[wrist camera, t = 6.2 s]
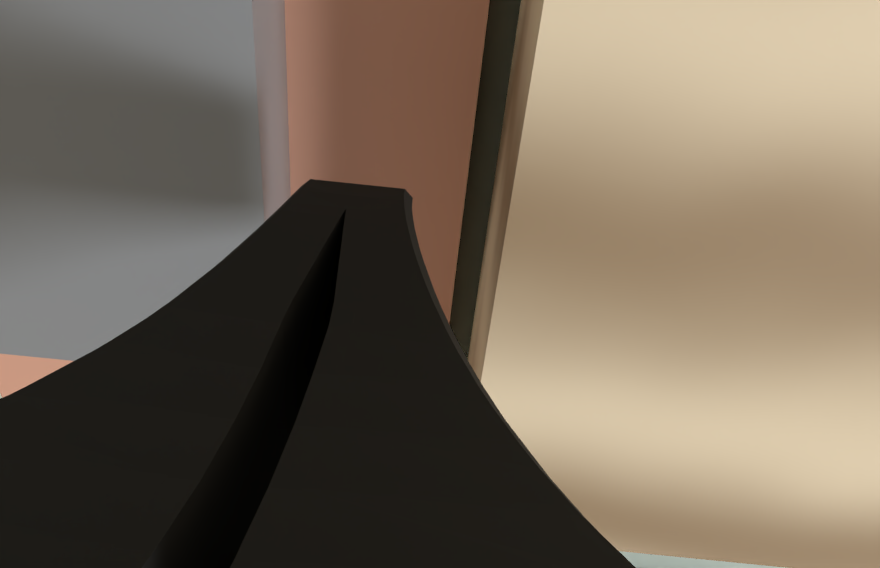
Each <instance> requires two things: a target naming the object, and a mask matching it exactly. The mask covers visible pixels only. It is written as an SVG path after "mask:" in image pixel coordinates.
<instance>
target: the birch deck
mask: <svg viewBox="0 0 880 568" xmlns="http://www.w3.org/2000/svg"><path fill="white" fill-rule="evenodd" d="M468 362H469V363H470V365H471V367H472V368H473V370H474V372H475V373H476V375H477V377H478V378H479V380H480V382H481V383H482V385H483V387H484V388H485V390H486V391H487V393H488V394H489V396H490V397H491V399H492V401H493V402H494V404H495V405H496V407H497V408H498V410H499V411H500V413H501V414H502V416H503V417H504V419H505V420H506V421H507V423H508V424H509V425H510V427H511V428H512V429H513V431H514V432H515V433H516V434H517V436H518V437H519V438H520V440H521V441H522V442H523V443H524V445H525V446H526V447H527V449H528V450H529V451H530V453H531V454H532V455H533V456H534V458H535V459H536V460H537V462H538V463H539V464H540V466H541V467H542V468H543V469H544V471H545V472H546V473H547V475H548V476H549V477H550V478H551V480H552V481H553V482H554V483H555V484H556V485H557V486H558V487H559V489H560V490H561V491H562V492H563V493H564V494H565V495H566V497H567V498H568V499H569V500H570V501H571V502H572V503H573V504H574V506H575V507H576V508H577V509H578V510H579V511H580V512H581V514H582V515H583V516H584V517H585V518H586V519H587V520H588V521H589V522H590V523H591V524H592V525H593V526H594V527H595V528H596V529H597V530H598V532H599V533H600V534H601V535H602V536H603V537H604V538H606V539H607V540H608V541H609V542H610V543H611V544H612V545H613V546H614V547H615V548H616V549H617V550H618V551H625V552H635V553H645V554H655V555H665V556H676V557H686V558H696V559H706V560H716V561H726V562H737V563H747V564H757V565H767V566H777V567H788V568H880V0H521V3H520V10H519V17H518V23H517V30H516V37H515V44H514V50H513V57H512V64H511V71H510V77H509V84H508V91H507V98H506V104H505V111H504V118H503V125H502V131H501V138H500V145H499V152H498V158H497V165H496V172H495V179H494V185H493V192H492V199H491V205H490V212H489V219H488V226H487V232H486V239H485V246H484V253H483V259H482V266H481V273H480V280H479V286H478V293H477V300H476V307H475V313H474V320H473V327H472V334H471V340H470V347H469V354H468Z"/></svg>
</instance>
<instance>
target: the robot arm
mask: <svg viewBox="0 0 880 568" xmlns="http://www.w3.org/2000/svg"><path fill="white" fill-rule="evenodd" d="M412 201H413V198H412V196H411V195H410V194H409V193H408V192H407V191H406V189H402V188H392V187H382V186H373V185H363V184H353V183H343V182H334V181H324V180H314V179H310V180H308V181H307V182H306V183H305V184H303V185H302V186H301V187H300V188H299V189H298V190H297V191H296V192H295V193H294V194H293V195H292V196H291V197H290V198H289V199H288V200H287V201H286V202H285V203H284V204H283V205H282V206H281V207H280V208H279V209H278V210H277V211H276V212H274V213H273V214H272V215H271V216H270V217H269V218H268V219H267V220H266V221H265V222H264V223H263V224H262V225H261V226H260V227H259V228H258V229H257V230H256V231H254V232H253V233H252V234H251V235H250V236H249V237H248V238H247V239H245V240H244V241H243V242H242V243H241V244H240V245H239V246H238V247H237V248H235V249H234V250H233V251H232V252H231V253H230V254H229V255H228V256H226V257H225V258H224V259H223V260H222V261H221V262H219V263H218V264H217V265H216V266H215V267H213V268H212V269H211V270H210V271H208V272H207V273H206V274H205V275H203V276H202V277H201V278H199V279H198V280H197V281H196V282H194V283H193V284H192V285H191V286H189V287H188V288H187V289H185V290H184V291H183V292H182V293H180V294H179V295H178V296H177V297H175V298H174V299H173V300H171V301H170V302H169V303H167V304H166V305H164V306H163V307H162V308H160V309H159V310H157V311H156V312H154V313H153V314H152V315H150V316H149V317H147V318H146V319H144V320H143V321H141V322H139V323H138V324H136V325H135V326H133V327H131V328H130V329H128V330H127V331H125V332H124V333H122V334H120V335H119V336H117V337H116V338H114V339H112V340H111V341H109V342H107V343H106V344H104V345H102V346H101V347H99V348H97V349H96V350H94V351H92V352H90V353H88V354H86V355H84V356H82V357H81V358H79V359H77V360H75V361H73V362H71V363H69V364H67V365H65V366H64V367H62V368H60V369H58V370H56V371H54V372H52V373H50V374H49V375H47V376H45V377H43V378H41V379H39V380H37V381H35V382H34V383H32V384H30V385H28V386H26V387H24V388H22V389H20V390H18V391H16V392H14V393H12V394H10V395H8V396H5V397H3V398H1V399H0V568H635V567H634V566H633V565H632V564H631V563H630V562H629V561H628V560H627V559H626V558H625V557H624V556H623V555H622V554H621V553H620V552H619V551H618V550H617V549H616V548H615V547H614V546H613V545H612V544H611V543H610V542H609V541H608V540H607V539H606V538H604V537H603V536H602V535H601V534H600V533H599V532H598V530H597V529H596V528H595V527H594V526H593V525H592V524H591V523H590V522H589V521H588V520H587V519H586V518H585V517H584V516H583V515H582V514H581V512H580V511H579V510H578V509H577V508H576V507H575V506H574V504H573V503H572V502H571V501H570V500H569V499H568V498H567V497H566V495H565V494H564V493H563V492H562V491H561V490H560V489H559V487H558V486H557V485H556V484H555V483H554V482H553V481H552V480H551V478H550V477H549V476H548V475H547V473H546V472H545V471H544V469H543V468H542V467H541V466H540V464H539V463H538V462H537V460H536V459H535V458H534V456H533V455H532V454H531V453H530V451H529V450H528V449H527V447H526V446H525V445H524V443H523V442H522V441H521V440H520V438H519V437H518V436H517V434H516V433H515V432H514V431H513V429H512V428H511V427H510V425H509V424H508V423H507V421H506V420H505V419H504V417H503V416H502V414H501V413H500V411H499V410H498V408H497V407H496V405H495V404H494V402H493V401H492V399H491V397H490V396H489V394H488V393H487V391H486V390H485V388H484V387H483V385H482V383H481V382H480V380H479V378H478V377H477V375H476V373H475V372H474V370H473V368H472V367H471V365H470V363H469V362H468V360H467V358H466V356H465V354H464V352H463V351H462V349H461V347H460V345H459V343H458V341H457V339H456V337H455V335H454V333H453V331H452V329H451V327H450V325H449V323H448V320H447V318H446V316H445V314H444V312H443V310H442V308H441V305H440V303H439V300H438V298H437V296H436V293H435V291H434V288H433V285H432V283H431V280H430V277H429V274H428V271H427V269H426V266H425V263H424V260H423V257H422V254H421V251H420V247H419V243H418V239H417V235H416V231H415V227H414V221H413V214H412Z"/></svg>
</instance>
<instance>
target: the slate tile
mask: <svg viewBox="0 0 880 568" xmlns="http://www.w3.org/2000/svg"><path fill="white" fill-rule="evenodd" d="M290 197H291V187H290V156H289V125H288V94H287V63H286V31H285V0H0V354H9V355H19V356H29V357H39V358H50V359H60V360H70V361H75V360H77V359H79V358H81V357H82V356H84V355H86V354H88V353H90V352H92V351H94V350H96V349H97V348H99V347H101V346H102V345H104V344H106V343H107V342H109V341H111V340H112V339H114V338H116V337H117V336H119V335H120V334H122V333H124V332H125V331H127V330H128V329H130V328H131V327H133V326H135V325H136V324H138V323H139V322H141V321H143V320H144V319H146V318H147V317H149V316H150V315H152V314H153V313H154V312H156V311H157V310H159V309H160V308H162V307H163V306H164V305H166V304H167V303H169V302H170V301H171V300H173V299H174V298H175V297H177V296H178V295H179V294H180V293H182V292H183V291H184V290H185V289H187V288H188V287H189V286H191V285H192V284H193V283H194V282H196V281H197V280H198V279H199V278H201V277H202V276H203V275H205V274H206V273H207V272H208V271H210V270H211V269H212V268H213V267H215V266H216V265H217V264H218V263H219V262H221V261H222V260H223V259H224V258H225V257H226V256H228V255H229V254H230V253H231V252H232V251H233V250H234V249H235V248H237V247H238V246H239V245H240V244H241V243H242V242H243V241H244V240H245V239H247V238H248V237H249V236H250V235H251V234H252V233H253V232H254V231H256V230H257V229H258V228H259V227H260V226H261V225H262V224H263V223H264V222H265V221H266V220H267V219H268V218H269V217H270V216H271V215H272V214H273V213H274V212H276V211H277V210H278V209H279V208H280V207H281V206H282V205H283V204H284V203H285V202H286V201H287V200H288V199H289V198H290Z"/></svg>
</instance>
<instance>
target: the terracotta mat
mask: <svg viewBox="0 0 880 568" xmlns="http://www.w3.org/2000/svg"><path fill="white" fill-rule="evenodd" d="M489 2H490V0H285V31H286V63H287V94H288V125H289V156H290V187H291V196H292V195H293V194H294V193H295V192H296V191H297V190H298V189H299V188H300V187H301V186H302V185H303V184H305V183H306V182H307V181H308V180H310V179H314V180H324V181H334V182H343V183H353V184H363V185H373V186H382V187H392V188H402V189H406V191H407V192H408V193H409V194H410V195H411V196H412V198H413V201H412V214H413V221H414V227H415V231H416V235H417V239H418V243H419V247H420V251H421V254H422V257H423V260H424V263H425V266H426V269H427V271H428V274H429V277H430V280H431V283H432V285H433V288H434V291H435V293H436V296H437V298H438V300H439V303H440V305H441V308H442V310H443V312H444V314H445V316H446V318H447V320H448V323H450V315H451V307H452V299H453V291H454V283H455V275H456V267H457V259H458V251H459V243H460V235H461V227H462V219H463V211H464V203H465V195H466V187H467V179H468V171H469V162H470V154H471V146H472V138H473V130H474V122H475V114H476V106H477V98H478V90H479V82H480V74H481V66H482V58H483V50H484V42H485V34H486V26H487V18H488V10H489ZM71 362H73V361H70V360H60V359H50V358H39V357H29V356H19V355H9V354H0V393H1V396H2V397H5V396H8V395H10V394H12V393H14V392H16V391H18V390H20V389H22V388H24V387H26V386H28V385H30V384H32V383H34V382H35V381H37V380H39V379H41V378H43V377H45V376H47V375H49V374H50V373H52V372H54V371H56V370H58V369H60V368H62V367H64V366H65V365H67V364H69V363H71Z"/></svg>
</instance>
